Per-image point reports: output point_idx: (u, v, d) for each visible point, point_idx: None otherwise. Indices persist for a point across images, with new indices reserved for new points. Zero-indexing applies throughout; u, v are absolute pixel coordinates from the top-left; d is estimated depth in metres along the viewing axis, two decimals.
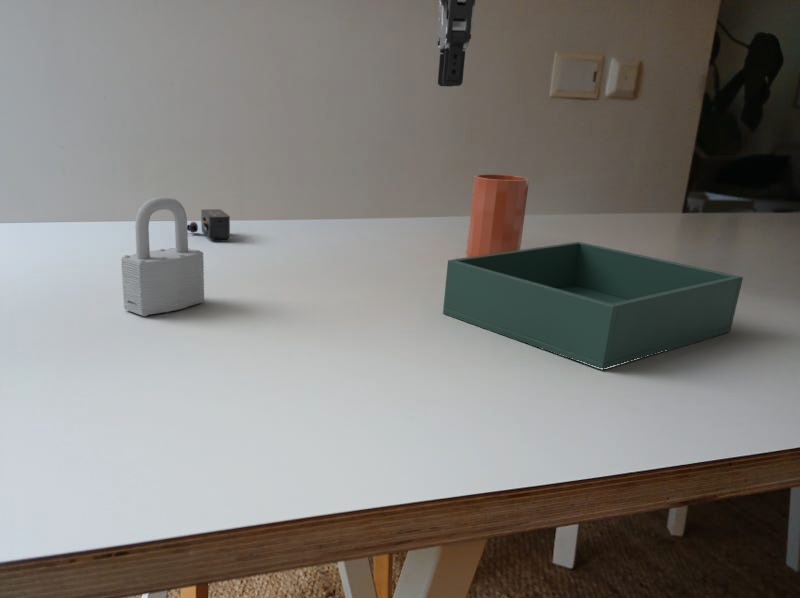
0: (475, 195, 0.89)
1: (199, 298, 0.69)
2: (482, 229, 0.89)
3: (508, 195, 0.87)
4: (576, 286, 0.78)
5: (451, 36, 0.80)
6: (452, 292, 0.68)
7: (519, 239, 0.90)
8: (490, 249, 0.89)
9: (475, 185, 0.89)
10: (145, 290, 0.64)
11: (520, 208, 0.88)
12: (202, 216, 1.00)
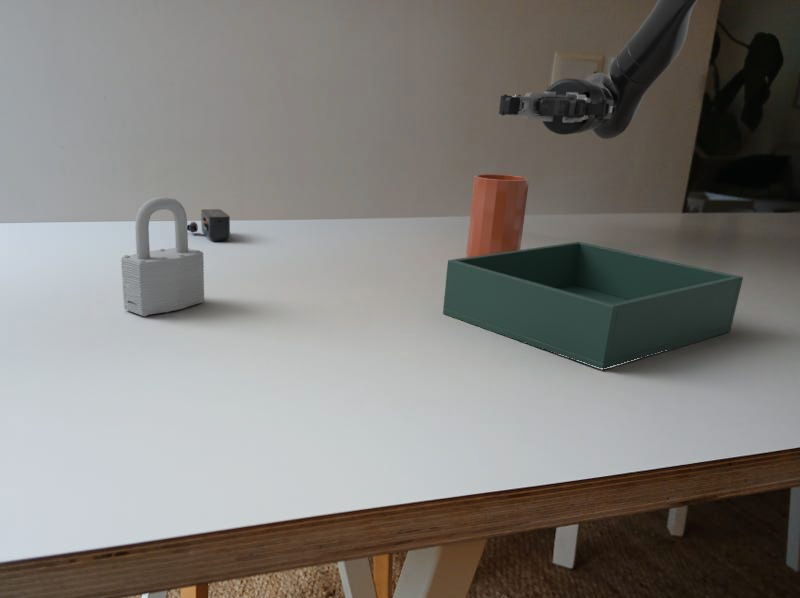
0: (475, 195, 0.89)
1: (199, 298, 0.69)
2: (482, 229, 0.89)
3: (508, 195, 0.87)
4: (576, 286, 0.78)
5: None
6: (452, 292, 0.68)
7: (519, 239, 0.90)
8: (490, 249, 0.89)
9: (475, 185, 0.89)
10: (145, 290, 0.64)
11: (520, 208, 0.88)
12: (202, 216, 1.00)
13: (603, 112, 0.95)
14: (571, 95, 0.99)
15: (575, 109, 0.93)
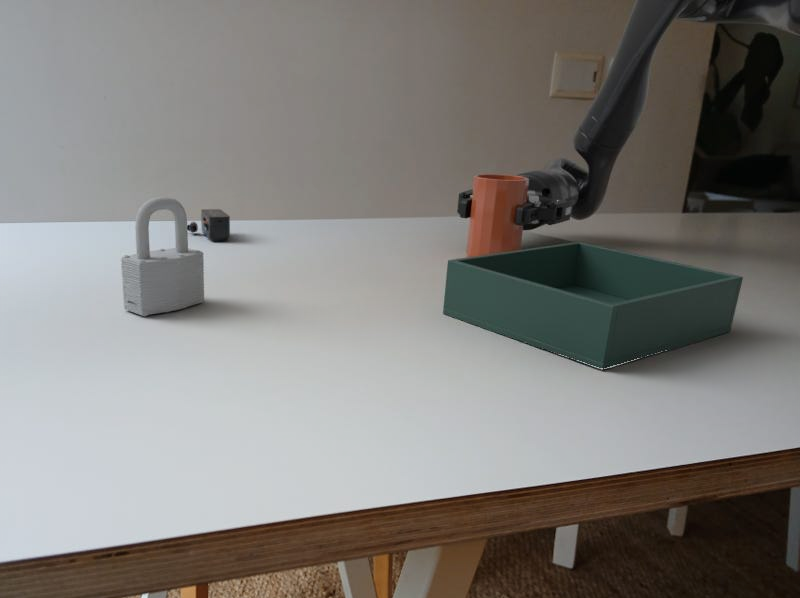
0: (475, 195, 0.89)
1: (199, 298, 0.69)
2: (482, 229, 0.89)
3: (508, 195, 0.87)
4: (576, 286, 0.78)
5: None
6: (452, 292, 0.68)
7: (519, 239, 0.90)
8: (490, 249, 0.89)
9: (475, 185, 0.89)
10: (145, 290, 0.64)
11: None
12: (202, 216, 1.00)
13: (553, 217, 0.89)
14: None
15: (522, 216, 0.87)
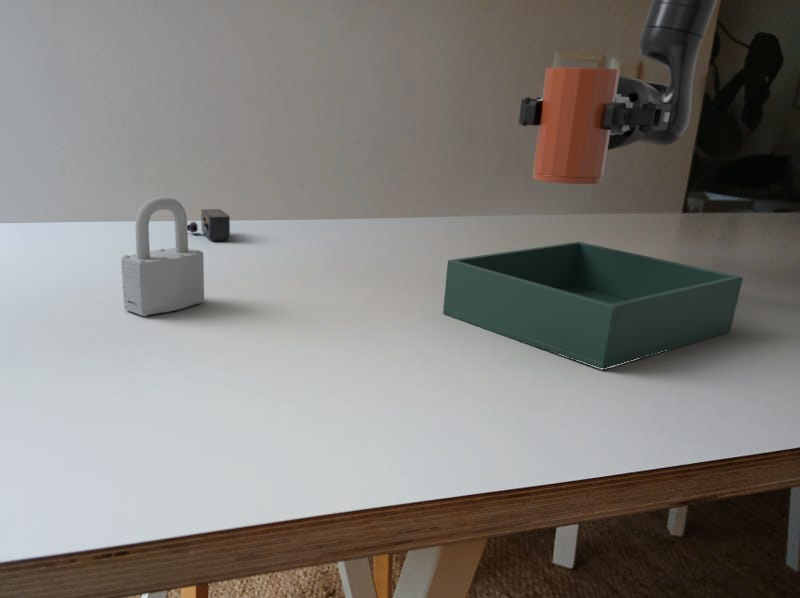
0: (548, 92, 0.68)
1: (199, 298, 0.69)
2: (557, 137, 0.68)
3: (594, 89, 0.66)
4: (576, 286, 0.78)
5: None
6: (452, 292, 0.68)
7: (605, 151, 0.69)
8: (568, 163, 0.68)
9: (548, 79, 0.68)
10: (145, 290, 0.64)
11: None
12: (202, 216, 1.00)
13: (650, 121, 0.68)
14: None
15: (613, 117, 0.66)
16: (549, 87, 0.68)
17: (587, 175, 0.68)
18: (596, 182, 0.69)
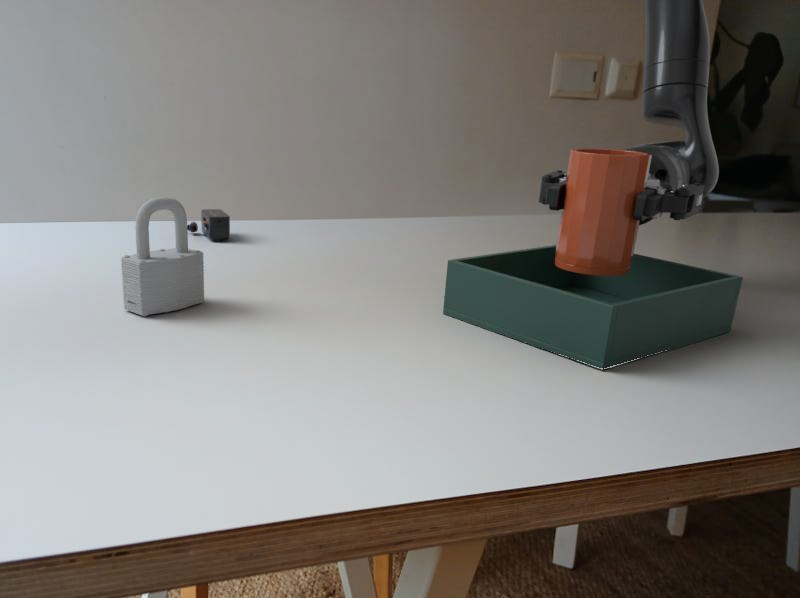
0: (573, 177, 0.63)
1: (199, 298, 0.69)
2: (583, 226, 0.63)
3: (624, 177, 0.60)
4: (576, 286, 0.78)
5: None
6: (452, 292, 0.68)
7: (634, 240, 0.64)
8: (594, 254, 0.63)
9: (573, 163, 0.63)
10: (145, 290, 0.64)
11: None
12: (202, 216, 1.00)
13: (683, 209, 0.63)
14: None
15: (644, 208, 0.61)
16: (574, 172, 0.62)
17: (615, 267, 0.63)
18: (624, 273, 0.64)
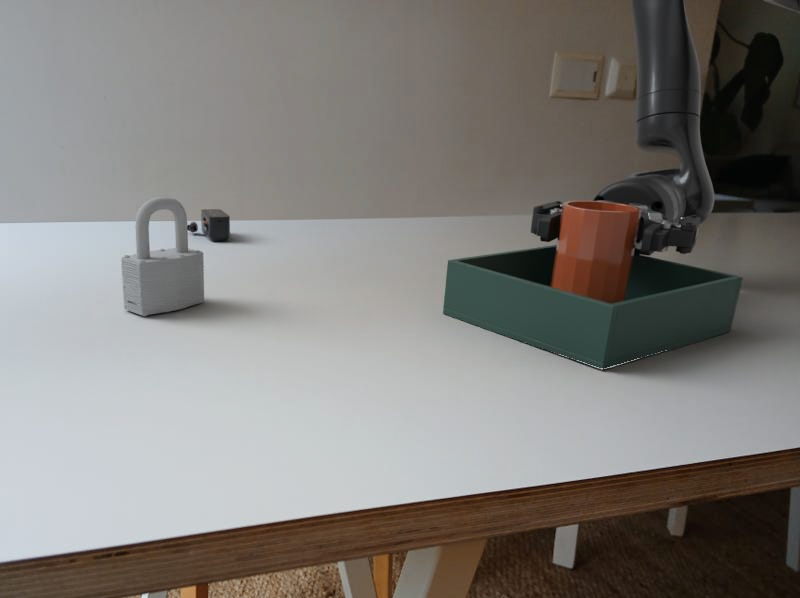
0: (565, 231, 0.64)
1: (199, 298, 0.69)
2: (575, 278, 0.64)
3: (615, 232, 0.62)
4: None
5: None
6: (452, 292, 0.68)
7: (625, 291, 0.65)
8: None
9: (565, 217, 0.64)
10: (145, 290, 0.64)
11: (629, 250, 0.63)
12: (202, 216, 1.00)
13: (690, 243, 0.64)
14: None
15: (651, 243, 0.61)
16: (566, 226, 0.64)
17: None
18: None
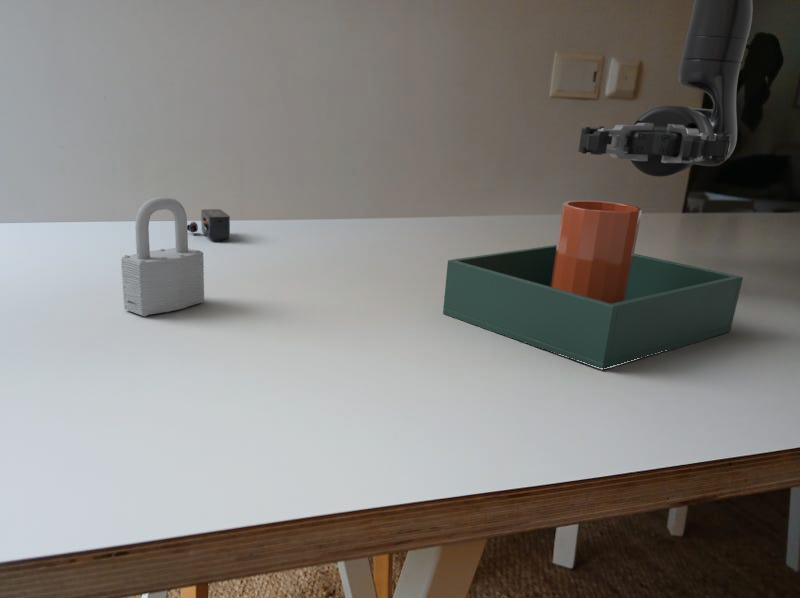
0: (565, 231, 0.64)
1: (199, 298, 0.69)
2: (575, 278, 0.64)
3: (615, 232, 0.62)
4: None
5: (579, 147, 0.80)
6: (452, 292, 0.68)
7: (625, 291, 0.65)
8: None
9: (565, 217, 0.64)
10: (145, 290, 0.64)
11: (629, 250, 0.63)
12: (202, 216, 1.00)
13: (724, 152, 0.72)
14: (676, 128, 0.76)
15: (691, 149, 0.70)
16: (566, 226, 0.64)
17: None
18: None
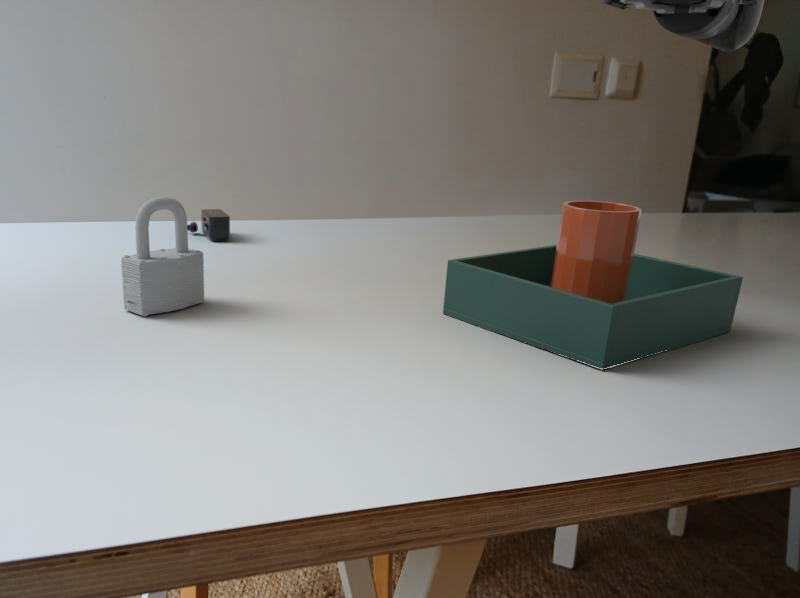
0: (565, 231, 0.64)
1: (199, 298, 0.69)
2: (575, 278, 0.64)
3: (615, 232, 0.62)
4: None
5: None
6: (452, 292, 0.68)
7: (625, 291, 0.65)
8: None
9: (565, 217, 0.64)
10: (145, 290, 0.64)
11: (629, 250, 0.63)
12: (202, 216, 1.00)
13: None
14: None
15: None
16: (566, 226, 0.64)
17: None
18: None
